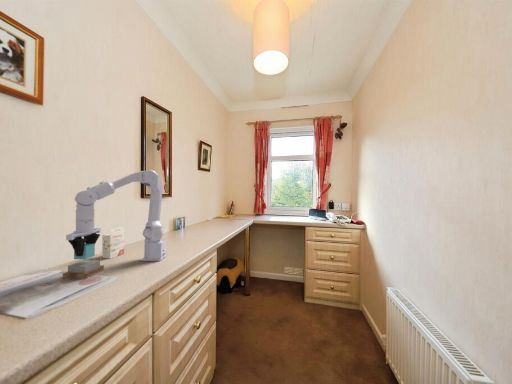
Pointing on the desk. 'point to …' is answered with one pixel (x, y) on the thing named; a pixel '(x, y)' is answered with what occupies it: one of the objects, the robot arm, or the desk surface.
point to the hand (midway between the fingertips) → (84, 253)
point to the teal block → (87, 252)
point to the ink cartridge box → (113, 243)
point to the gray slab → (83, 266)
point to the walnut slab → (83, 275)
